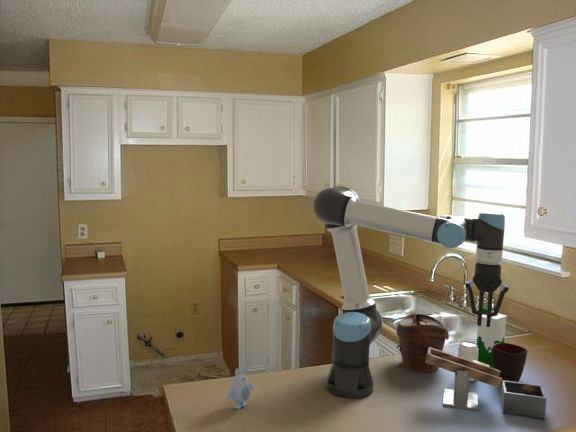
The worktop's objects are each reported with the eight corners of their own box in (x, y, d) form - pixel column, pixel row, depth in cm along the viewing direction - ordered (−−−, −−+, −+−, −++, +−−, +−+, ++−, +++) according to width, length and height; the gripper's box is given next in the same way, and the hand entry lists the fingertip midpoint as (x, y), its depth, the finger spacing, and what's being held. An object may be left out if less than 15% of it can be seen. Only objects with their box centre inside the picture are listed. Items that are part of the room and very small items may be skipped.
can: (461, 372, 189) (463, 339, 188) (479, 377, 185) (481, 343, 184) (453, 378, 184) (455, 344, 183) (472, 383, 180) (474, 348, 179)
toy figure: (233, 416, 154) (233, 375, 153) (219, 408, 158) (219, 369, 157) (260, 404, 162) (260, 365, 160) (246, 397, 166) (246, 359, 165)
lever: (425, 362, 166) (427, 354, 165) (427, 347, 179) (430, 339, 179) (499, 387, 160) (502, 379, 160) (496, 370, 173) (498, 362, 173)
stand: (443, 405, 164) (445, 369, 162) (444, 390, 174) (445, 357, 173) (478, 411, 161) (480, 374, 159) (477, 395, 171) (479, 361, 170)
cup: (485, 381, 182) (487, 347, 181) (507, 372, 191) (509, 339, 189) (513, 392, 174) (515, 356, 173) (535, 381, 183) (537, 347, 181)
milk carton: (483, 356, 206) (487, 304, 203) (506, 363, 199) (510, 309, 197) (471, 361, 200) (474, 308, 198) (494, 369, 193) (498, 314, 191)
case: (416, 351, 208) (418, 306, 206) (458, 369, 192) (461, 320, 190) (382, 361, 199) (383, 313, 196) (423, 381, 182) (425, 329, 180)
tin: (502, 413, 159) (504, 392, 159) (500, 400, 168) (502, 380, 167) (544, 419, 156) (546, 398, 155) (540, 406, 165) (541, 385, 164)
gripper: (466, 262, 166) (460, 337, 168) (512, 266, 162) (505, 343, 165) (466, 258, 173) (460, 330, 176) (510, 261, 169) (504, 335, 172)
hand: (482, 336), depth 170 cm, fingers closed
